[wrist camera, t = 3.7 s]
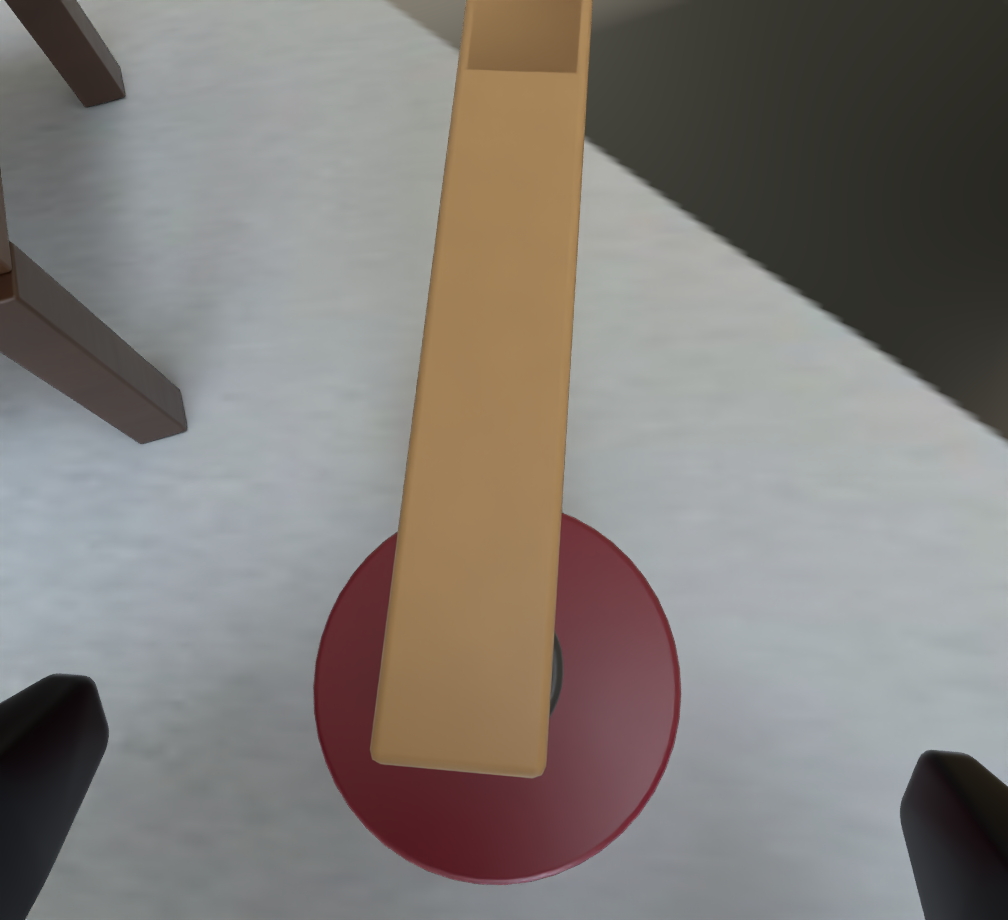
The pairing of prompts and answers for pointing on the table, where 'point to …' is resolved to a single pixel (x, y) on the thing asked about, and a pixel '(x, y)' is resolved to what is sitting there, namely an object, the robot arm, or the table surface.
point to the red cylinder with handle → (499, 522)
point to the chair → (51, 308)
